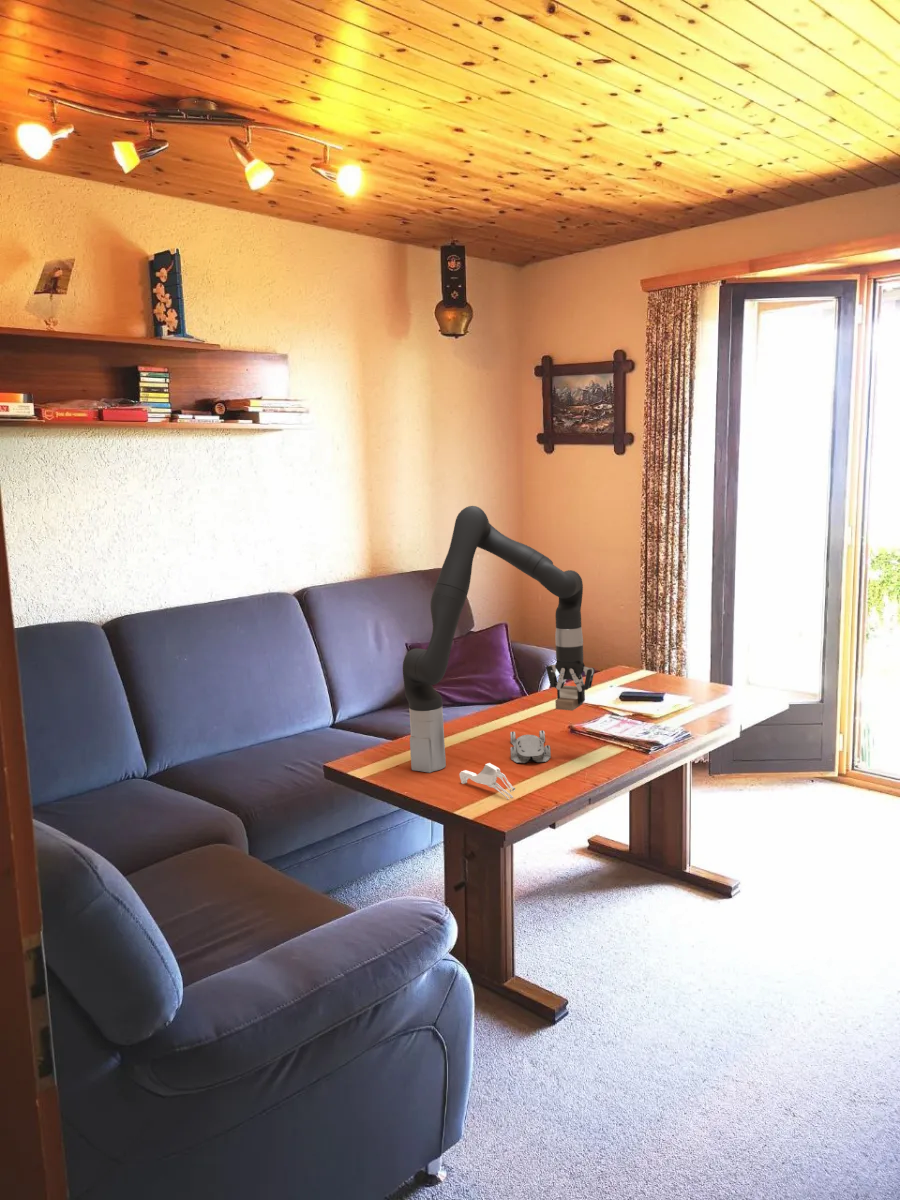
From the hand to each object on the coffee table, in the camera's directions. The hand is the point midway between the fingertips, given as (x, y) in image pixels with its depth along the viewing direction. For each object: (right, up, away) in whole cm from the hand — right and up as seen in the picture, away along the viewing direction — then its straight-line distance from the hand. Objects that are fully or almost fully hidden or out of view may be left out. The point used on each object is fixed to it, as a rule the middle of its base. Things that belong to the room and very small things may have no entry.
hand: (571, 702), depth 257 cm
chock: (-1, -1, -1) cm, 2 cm away
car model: (-11, -16, +8) cm, 21 cm away
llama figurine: (-24, -21, -21) cm, 38 cm away
